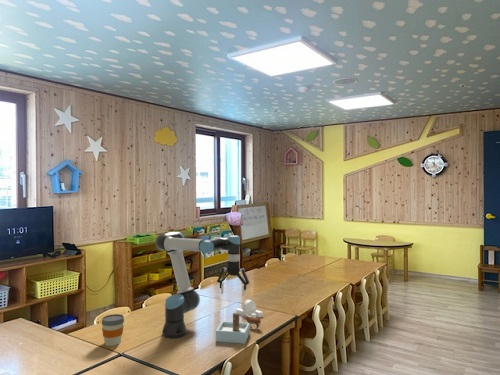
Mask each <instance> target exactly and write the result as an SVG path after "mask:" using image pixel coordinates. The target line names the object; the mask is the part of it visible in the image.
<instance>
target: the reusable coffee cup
mask: <svg viewBox="0 0 500 375" xmlns="http://www.w3.org/2000/svg"><path fill="white" fill-rule="evenodd" d="M124 317H125V316H124V315H123V314H119V313H118V314H117V313H115V314H107V315H105V316H103V317H102V320H101V326H102V328H101V332H102V336H103V339H104V345H105V346H106V347H107V346H108V347H113V346H117V345H120V343H122V337H123V336H122V335H123V333H124V326H125V325H124V322H125V318H124Z"/></svg>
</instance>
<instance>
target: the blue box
mask: <svg viewBox="0 0 500 375" xmlns="http://www.w3.org/2000/svg"><path fill="white" fill-rule="evenodd" d="M249 335H250V324H249V323H248V322H240V321H239V332H238V331H233V321H225V320H224V321H223V320H222V321H221V322H220V323H219V325H218V327H217V328H216V330H215V342H219V343H234V344H246V342H247V341H248V337H249Z"/></svg>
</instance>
